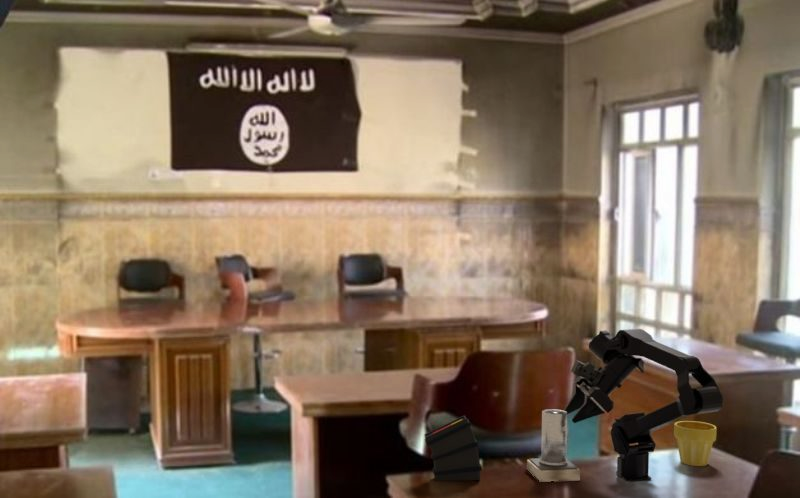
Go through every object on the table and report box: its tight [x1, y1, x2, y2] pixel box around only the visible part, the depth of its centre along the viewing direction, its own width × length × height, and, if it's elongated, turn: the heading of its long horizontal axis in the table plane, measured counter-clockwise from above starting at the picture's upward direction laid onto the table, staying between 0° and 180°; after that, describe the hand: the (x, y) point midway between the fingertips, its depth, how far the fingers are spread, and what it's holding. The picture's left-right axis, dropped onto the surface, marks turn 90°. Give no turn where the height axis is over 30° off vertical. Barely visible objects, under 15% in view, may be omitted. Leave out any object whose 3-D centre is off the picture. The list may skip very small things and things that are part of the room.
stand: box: [526, 457, 581, 483], centre depth 220 cm, size 10×10×3 cm
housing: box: [539, 408, 569, 467], centre depth 220 cm, size 7×7×12 cm
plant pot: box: [673, 420, 718, 467], centre depth 232 cm, size 10×10×10 cm
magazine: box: [424, 415, 483, 482], centre depth 216 cm, size 4×13×15 cm, turn 94°
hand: (568, 417), depth 223 cm, fingers open, 9 cm apart
